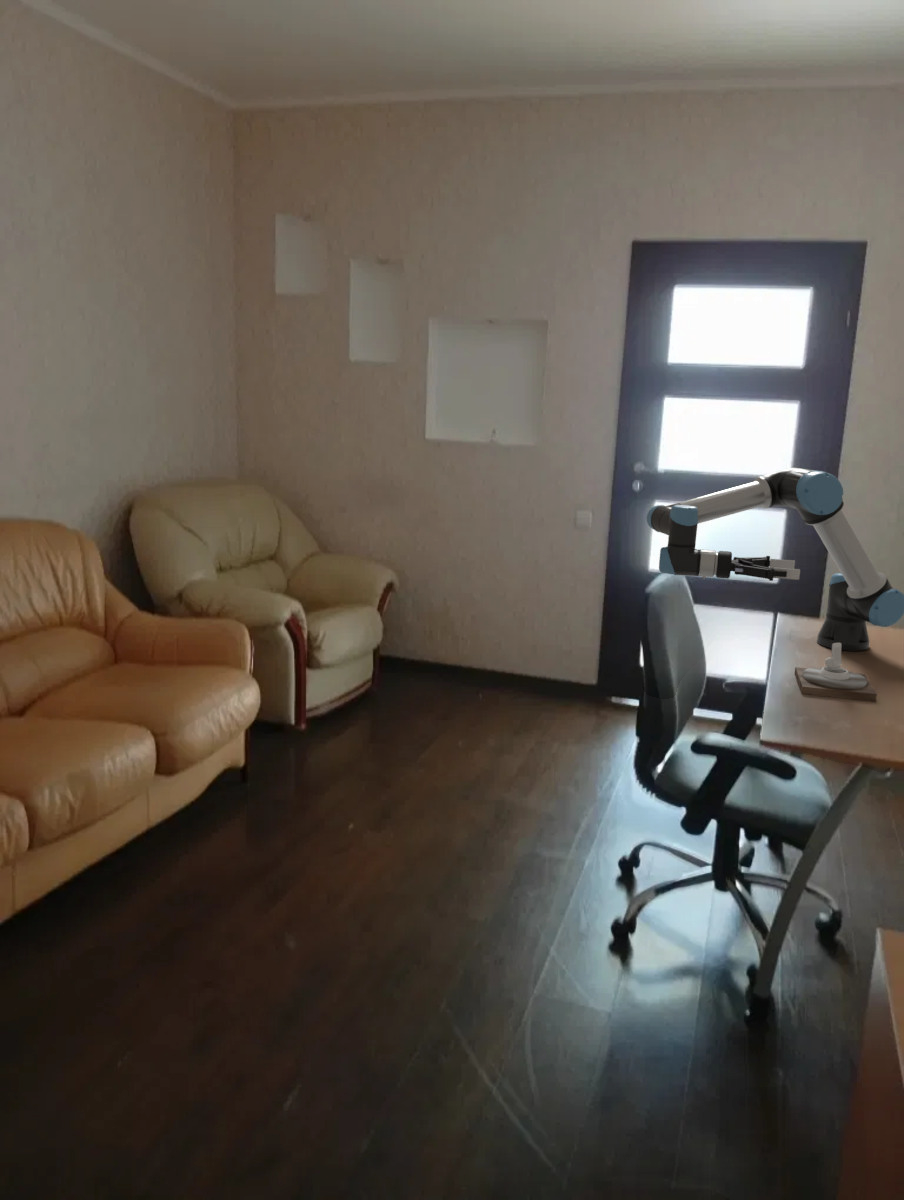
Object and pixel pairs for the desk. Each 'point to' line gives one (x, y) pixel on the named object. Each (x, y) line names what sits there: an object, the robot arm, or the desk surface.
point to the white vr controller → (834, 665)
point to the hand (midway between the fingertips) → (797, 569)
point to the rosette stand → (834, 685)
